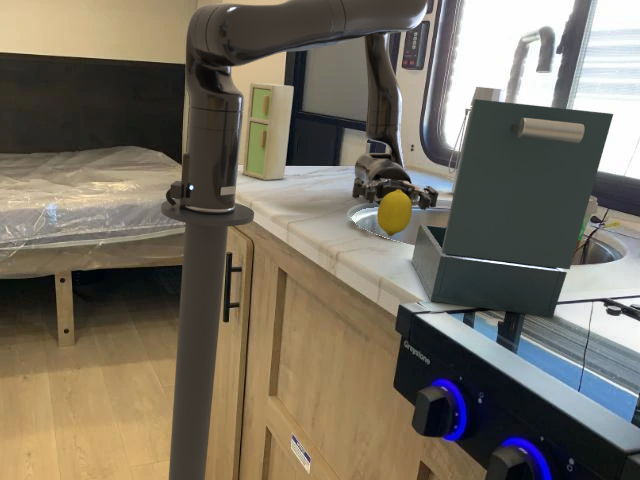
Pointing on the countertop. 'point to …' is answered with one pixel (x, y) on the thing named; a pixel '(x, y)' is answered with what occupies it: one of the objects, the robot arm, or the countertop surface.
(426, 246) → the freezer
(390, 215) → the lemon
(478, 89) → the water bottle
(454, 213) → the freezer lid
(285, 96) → the toy refrigerator
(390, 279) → the countertop surface
